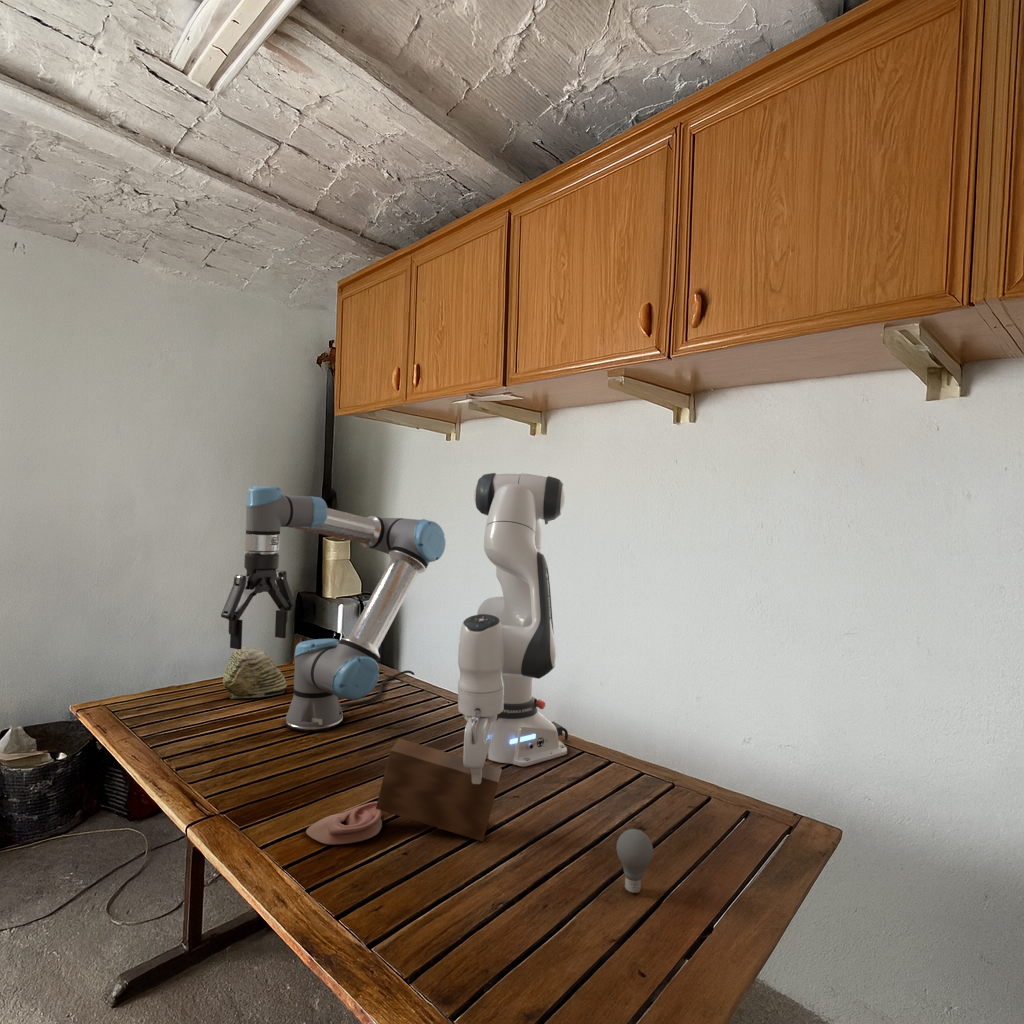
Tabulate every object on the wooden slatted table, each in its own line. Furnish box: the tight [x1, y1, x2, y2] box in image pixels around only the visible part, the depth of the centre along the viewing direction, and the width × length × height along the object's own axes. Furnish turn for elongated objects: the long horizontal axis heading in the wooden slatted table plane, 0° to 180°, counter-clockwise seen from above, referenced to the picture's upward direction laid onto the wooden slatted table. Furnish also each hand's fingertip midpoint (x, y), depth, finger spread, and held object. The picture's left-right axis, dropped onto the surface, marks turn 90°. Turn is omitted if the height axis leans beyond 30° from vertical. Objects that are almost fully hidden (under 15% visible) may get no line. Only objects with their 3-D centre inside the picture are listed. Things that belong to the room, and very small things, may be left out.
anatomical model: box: [305, 800, 384, 846], centre depth 121 cm, size 13×4×12 cm
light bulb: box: [615, 828, 654, 894], centre depth 106 cm, size 6×6×10 cm
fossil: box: [222, 646, 288, 699], centre depth 198 cm, size 9×18×15 cm, turn 132°
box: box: [376, 737, 502, 842], centre depth 123 cm, size 21×6×12 cm, turn 85°
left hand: (258, 642), depth 148 cm, fingers open, 13 cm apart
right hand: (480, 770), depth 123 cm, fingers open, 8 cm apart
